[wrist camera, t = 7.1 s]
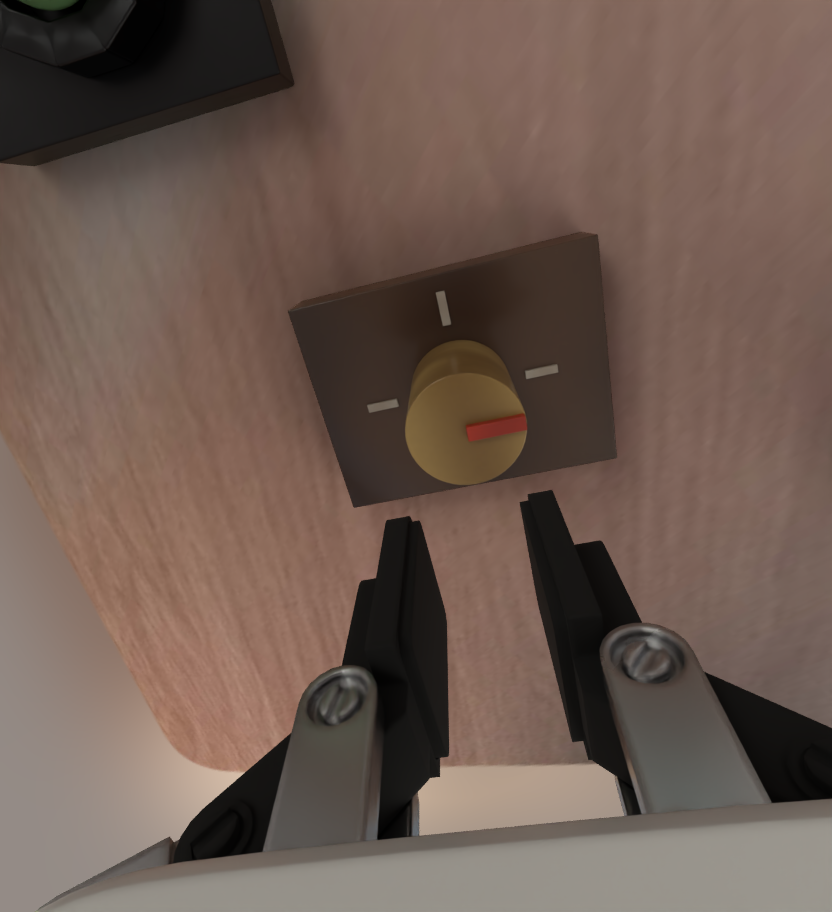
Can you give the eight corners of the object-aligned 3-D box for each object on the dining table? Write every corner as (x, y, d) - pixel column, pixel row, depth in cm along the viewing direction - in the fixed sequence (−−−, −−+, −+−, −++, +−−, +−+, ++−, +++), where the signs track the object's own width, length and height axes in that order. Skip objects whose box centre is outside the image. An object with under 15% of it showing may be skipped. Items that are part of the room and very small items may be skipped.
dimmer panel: (360, 484, 29) (353, 509, 26) (301, 301, 25) (286, 311, 22) (602, 437, 27) (618, 459, 24) (582, 231, 23) (599, 234, 20)
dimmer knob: (424, 442, 25) (420, 499, 20) (401, 352, 23) (390, 390, 18) (517, 423, 24) (536, 477, 19) (501, 329, 22) (518, 362, 17)
